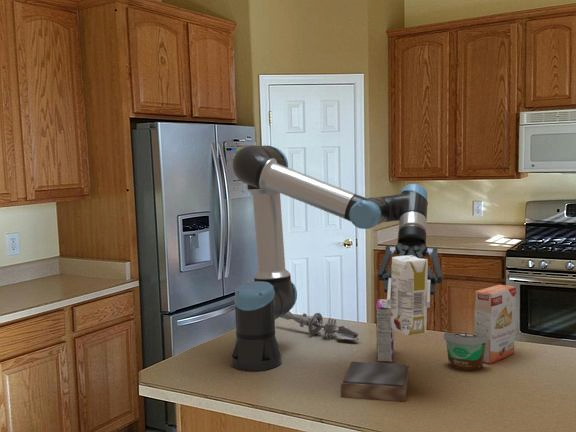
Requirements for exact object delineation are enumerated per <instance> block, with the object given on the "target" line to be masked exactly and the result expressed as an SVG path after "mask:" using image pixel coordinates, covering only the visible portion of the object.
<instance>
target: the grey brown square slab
mask: <svg viewBox="0 0 576 432" xmlns="http://www.w3.org/2000/svg"><path fill="white" fill-rule="evenodd" d="M409 369H410V366H409V365H407V364H397V363H395V364H394V363H384V362H381V363H379V362H367V361H366V362H365V361H363V362H362V361H351V362H349V364H348V367H347V369H346V370H345V373H344V375H343V378H342V379H341V383H340V397H341V398H352V399H354V398H355V399H366V400H367V399H368V400H380V401H393V402H406V398H407V393H408V392H407V391H408V385H409V378H410V376H409V375H410V374H409V373H410V372H409Z"/></svg>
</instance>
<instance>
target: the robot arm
mask: <svg viewBox="0 0 576 432" xmlns="http://www.w3.org/2000/svg"><path fill="white" fill-rule="evenodd" d="M232 171H233V174H234V175H235V177H236V178H237V179H238V180H239V181H240V182H241V183H244V184H246V185H247V187H246V188H247V192H249V193H250V194H251V196H252V201H253V203H252V204H253V213H254V214H253V215H254V229H255V230H254V231H255V239H256V240H255V243H256V254H257V255H256V256H257V268H258V270H257V272H256V273H255V274H254V276H253V280H254V281H251V282H246V283H243V284H241V285H240V286H238V287H237V288H236V289H235V292H234V299H233V300H234V302H233V303H234V311H235V312H234V313H235V315H234V316H235V334H236V335H235V337H236V338H235V342H234V344H233V349H232V352H231V355H230V365H231V367H233V368H235V369H237V370H242V371H247V372H249V371H251V372H252V371H253V372H255V371H257V372H258V371H259V372H260V371H267V370H271V369H274V368H277V367H279V366H280V365H281V364H282V362H283V361H282V360H283V359H282V351H281V348H280V346H279V344H278V340H277V337H276V321H275V320H277V319H278V318H281V317H280V316H282V315H285V314H286V313H288V312H291V310H292V309H293V308H294V306H295V305H296V303H297V300H298V299H297V298H298V290H297V286H296V285H295V284H294V282H293V281H292V279H291V278H292V277H291V276H292V275H291V272H289V270H288V269H286V259H285V245H284V244H285V243H284V231H283V229H284V228H283V218H282V217H283V216H282V204H281V203H282V201H281V195H284V196H287V197H289V198H292V199H294V200H297V201H299V202H302V203H303V204H307V205H309V206H311V207H314V208H316V209H320V210H321V211H324V212H326V213H329V214H332V215H334V216H337V217H338V218H342V219H344V220H347V221H349V222H351V223H352V225H354V226H355V227H356V228H357V229H360V230H369V229H371V228H374V227H376V226H378V225H380V224H382V223H388V222H389V223H390V222H397V221H398V233H397V244H396V246H393V247H392V246H390V245H385V254H384V255H383V256H384V257H383V258H382V261H381V263H380V266H379V269H378V272H377V279H378V281H383V292H384V293H387V294H386V295H387V296H386V299H387V305H391V272H392V265H391V266H390V267H389V268H388V266H389V264H390V261H391V258H392V257H393V255H394V254H395V253H396V255H397V256H408V255H412V256H415V257H417V258H420V259H425V256H426V255H427V254H428V256H429V257H430V258H431V262H432V266H433V269H434V273H433V271H432V270H431V268H430V266H429V265H428V282H427V308H430V306H431V296H435V294H436V291H435V290H436V284H442V283H443V273H442V269H441V265H440V261H439V258H438V247H436V246H435V247H433V248H429V247H427V226H428V223H427V221H428V218H427V216H428V204H429V201H428V192H427V189H426V188H425V187H424V186H423V185H421V184H418V183H409V184H407V185H406V186H403V187H402V189H401V190H400V191H401V192H400V193H397V194H393V195H384V196H374V197H364V196H362V195H359V194H356V193H354V192H352V191H349V190H346V189H343V188H342V187H339V186H336V185H333V184H330V183H328V182H325V181H323V180H320V179H318V178H315V177H313V176H310V175H307V174H305V173H302V172H300V171H297V170H295V169H292V168H289V161H288V159H287V156H286V154H285V153H284V152H283V151H282V150H281V149H279V148H278V147H275V146H272V145H266V144H265V145H251V144H250V145H246V146H243V147H242V148H240V149H239V150H238V151H237V152H236V153H235V155H234V157H233V159H232ZM387 269H388V270H387ZM434 274H435V275H434Z"/></svg>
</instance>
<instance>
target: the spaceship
mask: <svg viewBox="0 0 576 432" xmlns="http://www.w3.org/2000/svg"><path fill="white" fill-rule="evenodd" d="M307 315H308V314H307V313H305V312H303V313H302V315H301V314H293V312H291V311H289V312H288V313H286V314H285V315H282V316H280V317H279V318H281V319H283V320H293V321H295V322H296V323H298V324H299V327H301V328H303V327H304V326H306V327H307V328H308V332H309V334H310V335H311V336H313V335H314V336H317V335H318V334H319V333H320V332H321V331H322V332H323V333H324V335H323V338H326V339H329V340H330V339H332V337H333V335H336V336H337V338H338V339H339V340H340V339H341V340H343V341H359V338H358V337H360V336H361V335H360V334H359V333H358V332H357V331H355V330H353V329H351V328H350V327H346V326H344V325H341V326H340V325H339V326H338V325H336V324H337V319H334V318H331V317H329V318H328V320H327V323H324V321H323V319H324V318H323V316H322V314H321V313H320V312H316V313H314V314H312V316H311V317H309V316H307ZM316 334H317V335H316Z"/></svg>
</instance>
